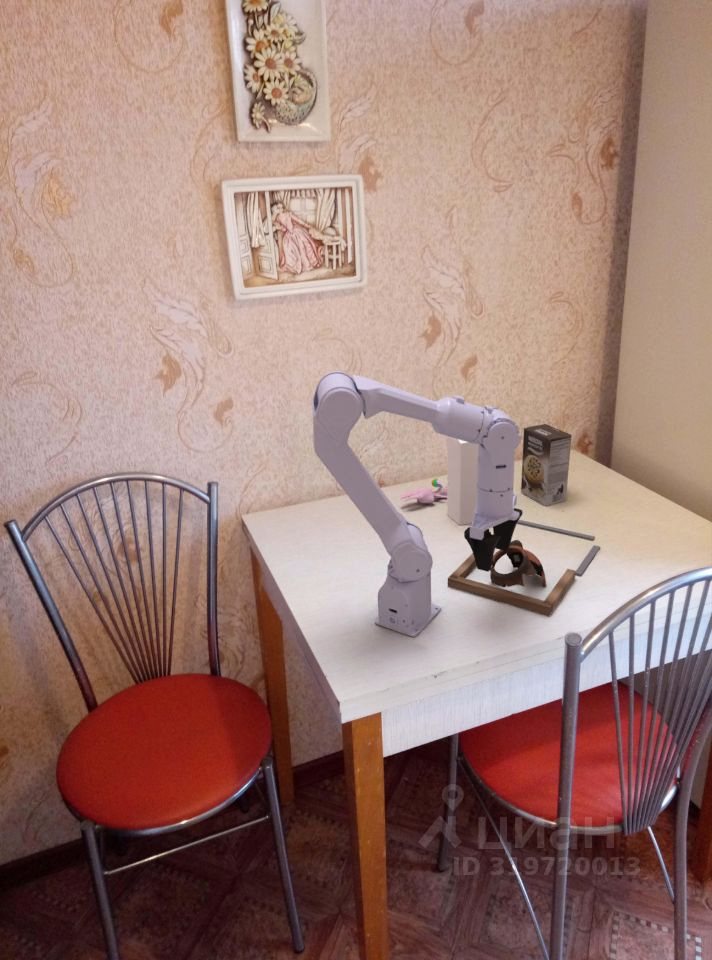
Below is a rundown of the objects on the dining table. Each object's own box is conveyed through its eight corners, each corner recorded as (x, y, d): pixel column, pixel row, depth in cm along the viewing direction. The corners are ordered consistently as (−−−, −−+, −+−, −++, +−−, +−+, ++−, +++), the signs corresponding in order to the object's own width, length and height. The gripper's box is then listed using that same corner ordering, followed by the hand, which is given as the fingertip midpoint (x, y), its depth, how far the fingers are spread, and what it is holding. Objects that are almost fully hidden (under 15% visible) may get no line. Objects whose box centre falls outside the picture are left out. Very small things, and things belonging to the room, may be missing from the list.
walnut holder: (549, 616, 114) (549, 607, 113) (447, 586, 124) (447, 578, 124) (575, 579, 124) (575, 570, 123) (479, 554, 134) (479, 546, 134)
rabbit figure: (444, 495, 164) (393, 502, 156) (447, 471, 162) (396, 477, 155) (461, 504, 159) (409, 511, 151) (464, 480, 157) (412, 486, 150)
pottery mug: (554, 598, 120) (536, 569, 116) (504, 615, 123) (485, 587, 119) (542, 550, 129) (526, 522, 125) (496, 567, 133) (479, 540, 128)
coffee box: (519, 492, 160) (522, 427, 153) (541, 486, 162) (545, 422, 156) (544, 507, 152) (549, 439, 146) (567, 500, 154) (572, 433, 148)
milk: (446, 515, 151) (446, 420, 143) (471, 509, 153) (471, 415, 144) (460, 526, 146) (460, 428, 137) (485, 520, 148) (486, 423, 139)
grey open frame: (580, 576, 125) (581, 574, 125) (479, 550, 136) (479, 548, 136) (605, 540, 137) (605, 538, 136) (510, 519, 147) (510, 517, 147)
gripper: (500, 507, 101) (498, 585, 106) (535, 473, 112) (531, 545, 117) (457, 498, 105) (457, 574, 110) (495, 466, 116) (493, 536, 121)
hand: (493, 559), depth 114 cm, fingers open, 7 cm apart
